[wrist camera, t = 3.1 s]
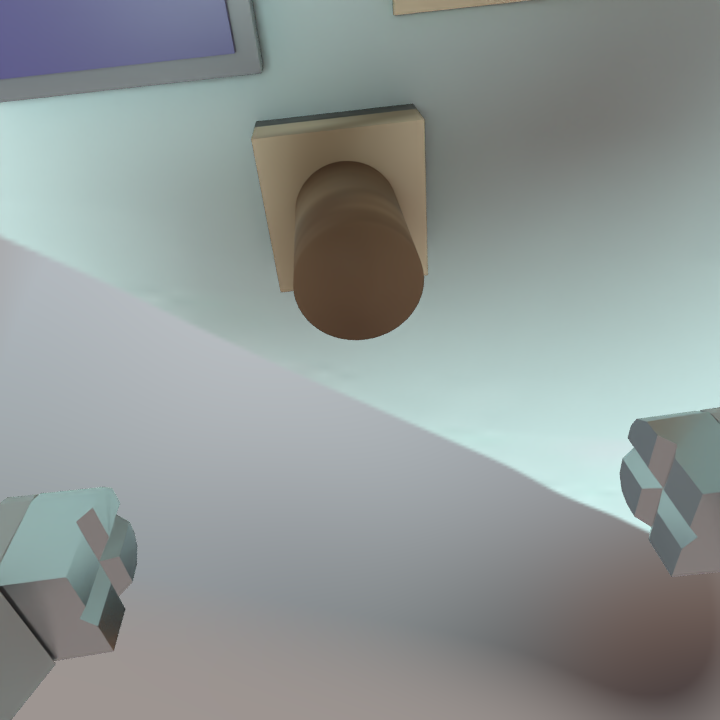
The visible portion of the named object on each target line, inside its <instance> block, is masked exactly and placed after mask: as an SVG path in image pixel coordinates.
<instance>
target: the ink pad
mask: <svg viewBox="0 0 720 720" xmlns="http://www.w3.org/2000/svg"><path fill="white" fill-rule="evenodd" d="M262 69H263V64H262V58H261V52H260V46H259V40H258V34H257V28H256V22H255V16H254V10H253V4H252V0H0V102H7V101H16V100H25V99H34V98H43V97H52V96H61V95H70V94H78V93H87V92H96V91H105V90H114V89H123V88H132V87H141V86H150V85H159V84H168V83H177V82H186V81H195V80H204V79H213V78H222V77H231V76H240V75H249V74H258V73H261V72H262Z"/></svg>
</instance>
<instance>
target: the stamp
mask: <svg viewBox="0 0 720 720" xmlns="http://www.w3.org/2000/svg"><path fill="white" fill-rule="evenodd" d="M251 141H252V146H253V151H254V156H255V161H256V167H257V172H258V177H259V182H260V187H261V192H262V198H263V203H264V208H265V213H266V218H267V223H268V229H269V234H270V239H271V244H272V249H273V254H274V260H275V265H276V270H277V275H278V280H279V285H280V291H281V292H289V291H294V296H295V299H296V302H297V305H298V307H299V309H300V310H301V312H302V314H303V315H304V316H305V318H306V319H307V320H308V321H309V322H310V323H311V324H312V325H313V326H315V327H316V328H317V329H319V330H321V331H322V332H324V333H326V334H328V335H331V336H333V337H337V338H341V339H347V340H365V339H371V338H375V337H378V336H381V335H384V334H386V333H388V332H390V331H392V330H394V329H395V328H397V327H398V326H400V325H401V324H402V323H403V322H404V321H405V320H407V319H408V317H409V316H410V315H411V314H412V313H413V311H414V310H415V308H416V307H417V305H418V303H419V300H420V298H421V295H422V291H423V286H424V275H428V263H427V217H426V171H425V126H424V118H423V117H422V116H421V114H420V113H419V112H418V110H417V109H416V107H415V106H414V105H413V104H406V105H397V106H388V107H379V108H371V109H362V110H353V111H344V112H335V113H327V114H318V115H309V116H300V117H292V118H283V119H274V120H265V121H257V122H256V124H255V128H254V131H253V135H252V138H251Z"/></svg>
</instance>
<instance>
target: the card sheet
mask: <svg viewBox="0 0 720 720" xmlns="http://www.w3.org/2000/svg"><path fill="white" fill-rule="evenodd" d="M520 1H529V0H393V15H402V14H411V13H420V12H429V11H438V10H447V9H456V8H465V7H474V6H483V5H492V4H502V3H511V2H520Z"/></svg>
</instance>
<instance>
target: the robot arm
mask: <svg viewBox="0 0 720 720" xmlns="http://www.w3.org/2000/svg"><path fill="white" fill-rule="evenodd" d="M628 439H629V441H630V442H631V443H632V445H633V446H634V448H633V449H632V450H631V451H630V452H629V453H628V454H627V455H626V456H625V457H624V458H623V459H622V464H621V469H620V480H621V488H622V492H623V495H624V497H625V500H626V503H627V505H628V506H629V508H630V510H631V511H632V513H633V515H634V516H635V517H636V518H638V519H640V520H641V521H643V522H644V523H646V524H648V525H649V526H651V530H650V536H649V541H650V543H651V544H652V546H653V548H654V549H655V551H656V553H657V554H658V556H659V557H660V559H661V561H662V562H663V564H664V565H665V567H666V569H667V570H668V572H669V573H670V575H671V577H675V576H685V575H694V574H704V573H713V572H720V407H719V408H712V409H705V410H700V411H691V412H684V413H676V414H669V415H662V416H654V417H647V418H640V419H636V420H635V421H634V423H633V424H632V425H631V427H630V431H629V435H628ZM119 504H120V502H119V500H118V498H117V496H116V494H115V493H114V491H113V489H112V488H108V487H99V488H89V489H80V490H70V491H60V492H50V493H41V494H38V495H28V496H18V497H8V498H6V499H5V500H3V501H2V502H1V503H0V720H12V718H13V717H14V716H15V715H16V713H17V712H18V711H19V710H20V708H21V707H22V706H23V705H24V703H25V702H26V701H27V700H28V698H29V697H30V696H31V695H32V693H33V692H34V691H35V690H36V688H37V687H38V686H39V684H40V683H41V682H42V681H43V680H44V678H45V677H46V676H47V674H48V673H49V672H50V671H51V669H52V668H53V667H54V666H55V662H54V661H57V660H64V659H69V658H75V657H82V656H88V655H95V654H101V653H106V652H112V651H114V649H115V645H116V641H117V637H118V634H119V630H120V627H121V623H122V620H123V616H124V612H125V607H124V605H123V604H122V602H121V600H120V598H119V596H120V595H121V594H122V593H123V592H124V591H125V590H126V588H127V587H128V586H129V585H130V584H131V583H132V582H133V578H134V574H135V570H136V566H137V542H136V538H135V533H134V531H133V529H132V526H131V524H130V522H129V521H127V520H125V519H123V518H122V517H120V516H118V515H117V511H118V508H119Z"/></svg>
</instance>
